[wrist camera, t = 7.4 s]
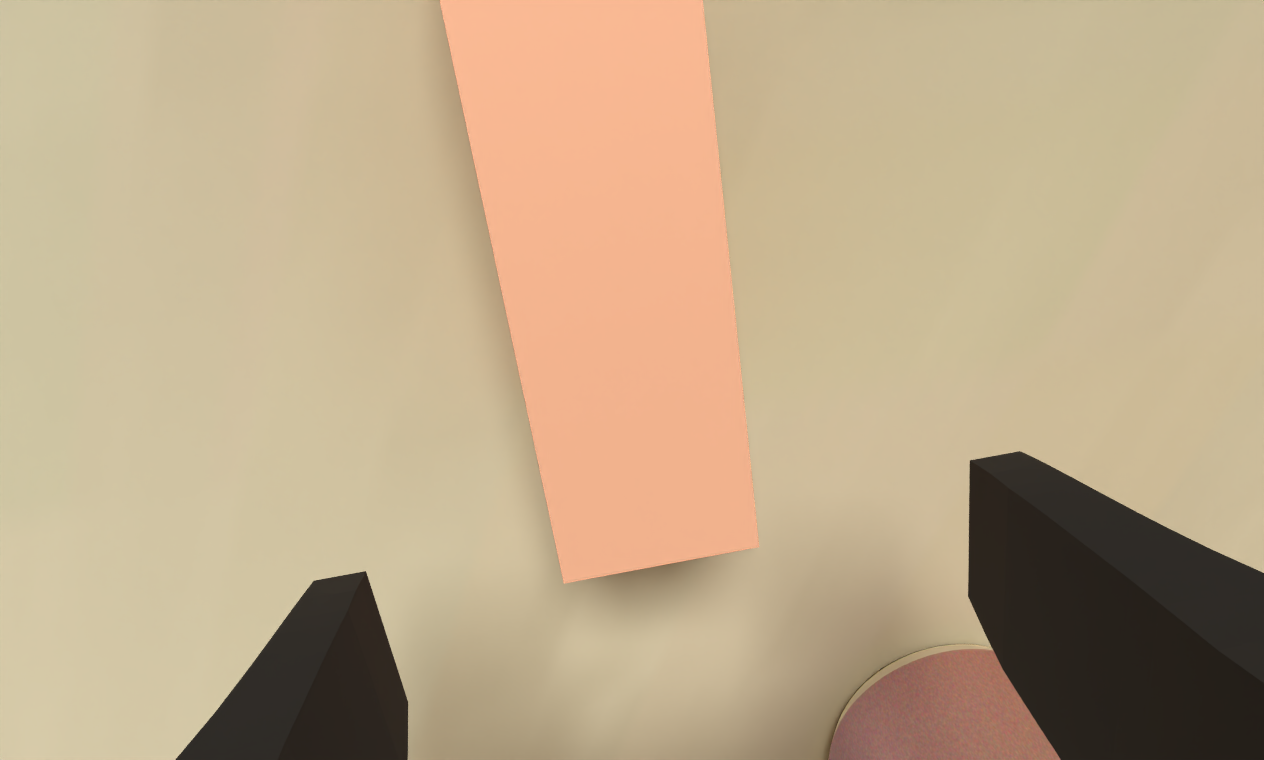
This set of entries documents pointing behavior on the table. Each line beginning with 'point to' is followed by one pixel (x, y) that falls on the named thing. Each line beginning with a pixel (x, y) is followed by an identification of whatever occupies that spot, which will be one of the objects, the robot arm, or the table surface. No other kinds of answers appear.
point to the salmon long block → (612, 270)
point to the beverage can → (940, 712)
